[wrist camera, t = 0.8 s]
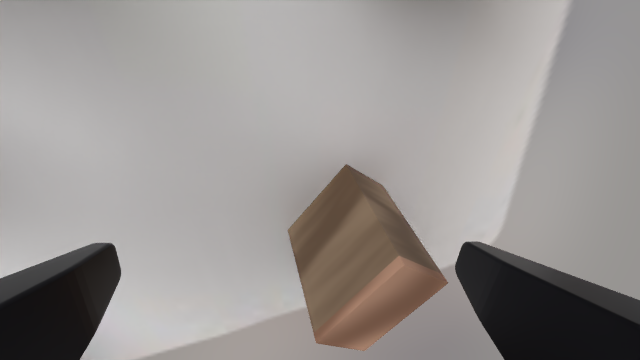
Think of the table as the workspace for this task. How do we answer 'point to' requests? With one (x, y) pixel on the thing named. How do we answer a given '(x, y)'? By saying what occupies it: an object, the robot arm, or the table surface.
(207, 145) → the table surface
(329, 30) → the table surface
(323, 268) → the walnut block
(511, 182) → the table surface
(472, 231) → the table surface
